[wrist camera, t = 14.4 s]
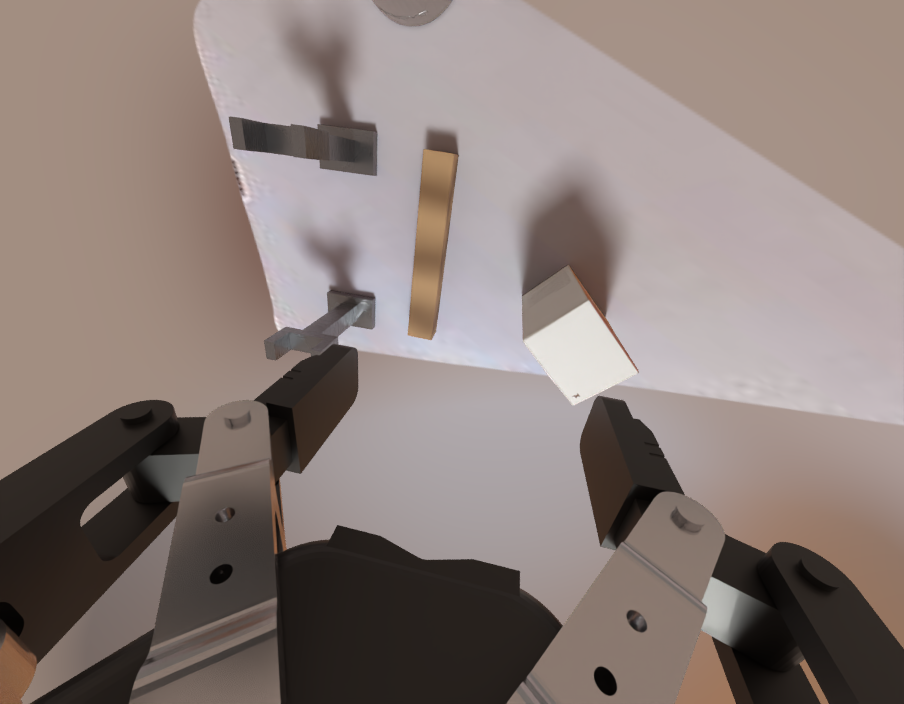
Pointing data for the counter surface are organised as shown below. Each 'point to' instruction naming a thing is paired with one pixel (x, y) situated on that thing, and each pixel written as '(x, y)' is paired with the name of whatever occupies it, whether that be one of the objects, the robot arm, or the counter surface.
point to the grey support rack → (334, 153)
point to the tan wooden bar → (431, 240)
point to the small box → (573, 338)
